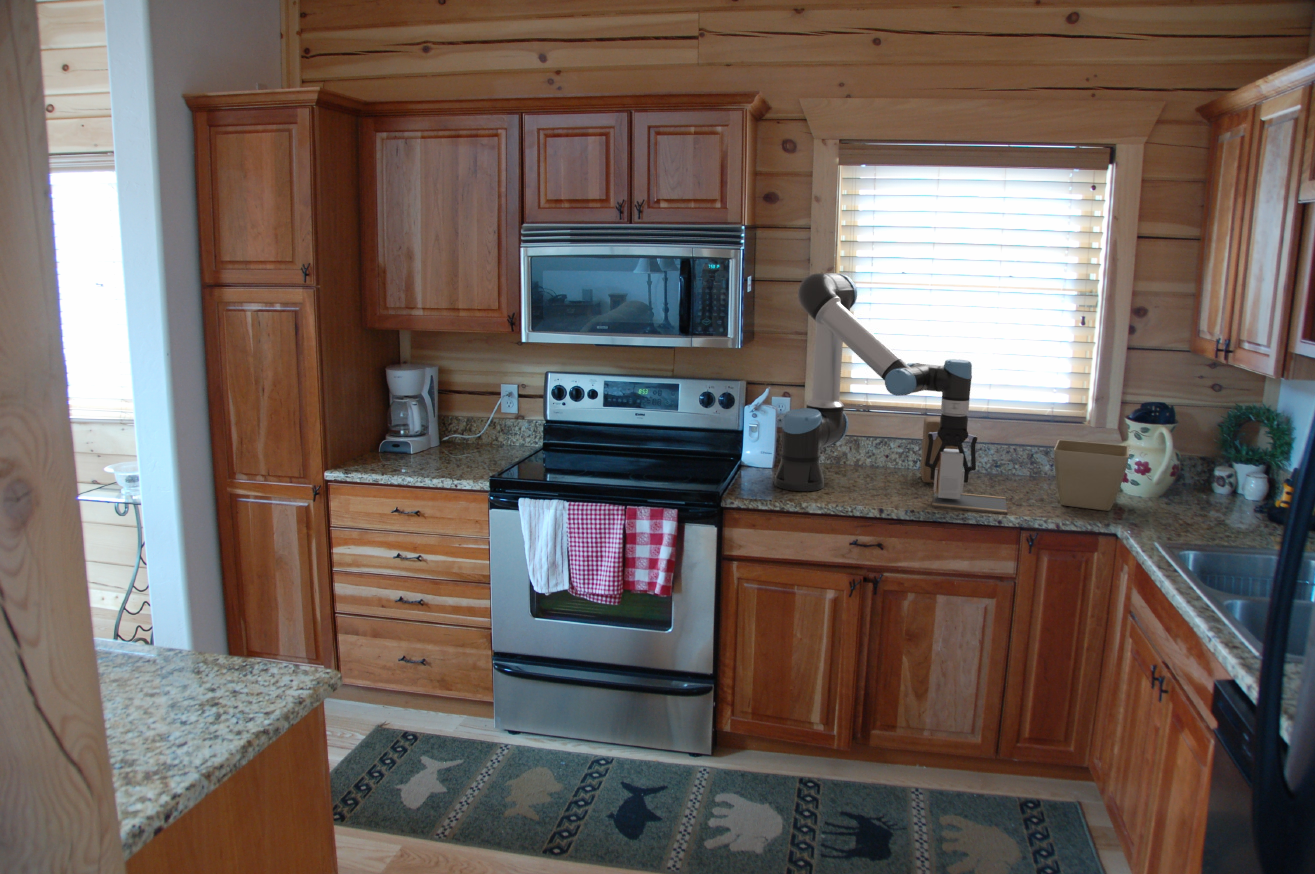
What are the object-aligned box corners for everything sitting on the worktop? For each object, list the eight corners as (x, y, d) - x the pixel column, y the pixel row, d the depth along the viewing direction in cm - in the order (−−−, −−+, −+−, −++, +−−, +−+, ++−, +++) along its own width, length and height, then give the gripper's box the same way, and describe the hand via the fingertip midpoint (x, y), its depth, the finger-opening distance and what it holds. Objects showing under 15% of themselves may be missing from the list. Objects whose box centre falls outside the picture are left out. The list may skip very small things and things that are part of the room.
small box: (935, 490, 263) (939, 448, 261) (957, 492, 262) (961, 449, 259) (937, 497, 256) (940, 453, 253) (960, 499, 254) (964, 455, 252)
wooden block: (955, 485, 279) (960, 422, 275) (922, 483, 281) (926, 420, 277) (951, 477, 288) (956, 417, 285) (919, 475, 290) (924, 415, 287)
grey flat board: (931, 507, 253) (932, 503, 253) (934, 493, 268) (934, 490, 268) (1007, 514, 247) (1007, 511, 247) (1005, 500, 261) (1005, 497, 261)
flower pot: (1052, 492, 272) (1058, 438, 268) (1122, 500, 263) (1129, 444, 260) (1047, 507, 255) (1053, 449, 252) (1122, 516, 246) (1129, 457, 243)
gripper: (918, 413, 254) (912, 491, 258) (991, 418, 248) (983, 498, 252) (919, 409, 261) (914, 485, 265) (990, 414, 255) (983, 492, 259)
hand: (948, 491), depth 259 cm, fingers closed on small box, 7 cm apart
